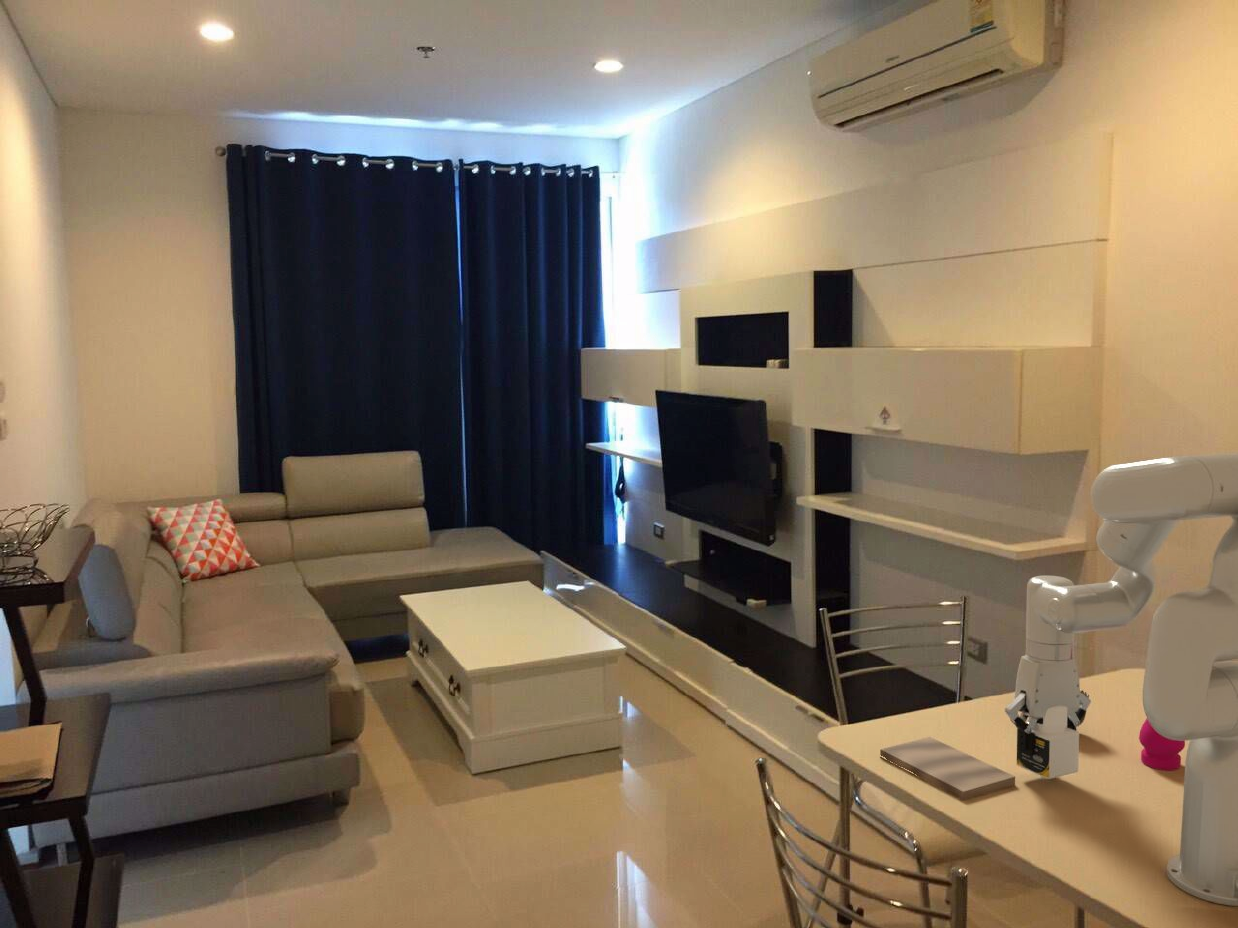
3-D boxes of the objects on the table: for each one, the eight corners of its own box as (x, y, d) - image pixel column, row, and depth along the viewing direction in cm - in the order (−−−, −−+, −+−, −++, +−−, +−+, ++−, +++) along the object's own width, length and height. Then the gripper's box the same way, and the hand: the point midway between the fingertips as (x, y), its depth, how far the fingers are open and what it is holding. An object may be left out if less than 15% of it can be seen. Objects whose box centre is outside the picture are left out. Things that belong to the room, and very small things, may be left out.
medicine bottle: (1015, 765, 179) (1016, 697, 178) (1045, 758, 182) (1047, 691, 181) (1048, 780, 173) (1049, 710, 171) (1079, 772, 176) (1080, 703, 174)
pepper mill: (1189, 773, 180) (1196, 661, 177) (1144, 770, 181) (1150, 659, 179) (1176, 756, 187) (1182, 649, 185) (1132, 753, 188) (1138, 647, 186)
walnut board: (1015, 784, 176) (1015, 776, 176) (963, 800, 171) (963, 791, 170) (929, 744, 194) (929, 736, 193) (880, 757, 188) (880, 749, 188)
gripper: (1076, 639, 181) (1074, 736, 183) (991, 648, 176) (989, 748, 178) (1108, 650, 174) (1105, 751, 176) (1020, 660, 169) (1018, 764, 171)
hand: (1047, 749), depth 177 cm, fingers closed on medicine bottle, 7 cm apart
